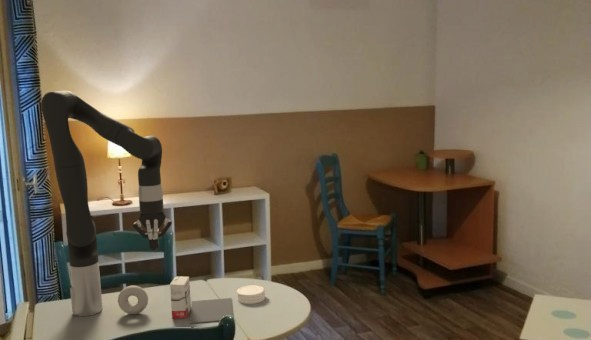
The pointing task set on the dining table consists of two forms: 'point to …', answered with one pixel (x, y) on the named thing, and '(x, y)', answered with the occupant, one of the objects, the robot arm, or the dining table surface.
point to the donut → (132, 291)
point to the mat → (210, 310)
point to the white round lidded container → (251, 294)
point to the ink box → (180, 297)
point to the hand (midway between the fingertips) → (154, 249)
